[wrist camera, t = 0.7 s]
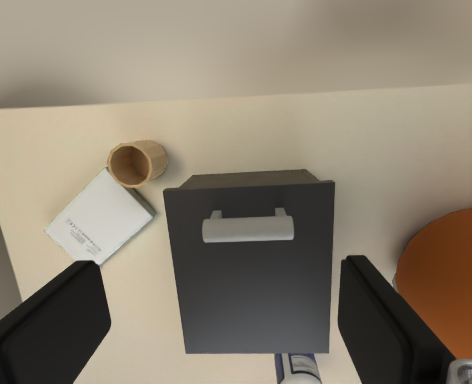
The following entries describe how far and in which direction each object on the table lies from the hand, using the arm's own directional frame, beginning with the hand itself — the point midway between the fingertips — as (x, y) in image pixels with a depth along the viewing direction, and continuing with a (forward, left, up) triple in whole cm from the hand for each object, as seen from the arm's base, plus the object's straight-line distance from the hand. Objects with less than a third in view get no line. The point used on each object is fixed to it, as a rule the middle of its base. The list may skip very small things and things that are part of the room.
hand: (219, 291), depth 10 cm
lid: (+7, +1, -12) cm, 14 cm away
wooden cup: (-3, -11, -22) cm, 25 cm away
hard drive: (+5, -18, -22) cm, 29 cm away
